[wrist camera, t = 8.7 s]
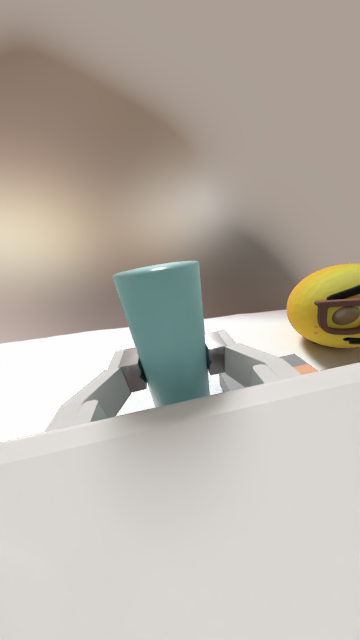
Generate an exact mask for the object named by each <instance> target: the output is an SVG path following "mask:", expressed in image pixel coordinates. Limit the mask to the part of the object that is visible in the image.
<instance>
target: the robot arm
mask: <svg viewBox="0 0 360 640" xmlns="http://www.w3.org/2000/svg"><path fill="white" fill-rule="evenodd" d="M205 344H206V356H207V368H208V370H209V373H210V375H214V374H219V373H224V372H225V373H226V374H227V375H228V376H230V377H231V378H233V379H234V380H236V381H237V382H238V383H240V384H241V385H243V386H244V387H246V388H242V389H237V390H232V391H228V392H223V393H219V394H214V395H210V396H205V397H201V398H196V399H192V400H187V401H183V402H178V403H174V404H170V405H165V406H161V407H156V408H152V409H147V410H143V411H138V412H134V413H129V414H125V415H120V416H116V415H117V413H118V412H119V410H120V409H121V407H122V406H123V404H124V403H125V402H126V400H127V399H128V397H129V396H130V394H131V392H135V391H139V390H143V389H146V387H147V380H146V377H145V374H144V371H143V368H142V365H141V362H140V359H139V355H138V352H137V349H136V348H131V349H125V350H120V351H116V352H115V354H114V356H113V359H112V361H111V363H110V365H109V368H108V370H105V371H104V372H102V373H101V374H100V375H99V376H98V377H96V378H95V379H94V380H93V381H91V382H90V383H89V384H88V385H87V386H85V387H84V388H83V389H82V390H80V391H79V392H78V393H77V394H76V395H74V396H73V397H72V398H71V399H69V400H68V401H67V402H66V403H65V404H63V405H62V406H61V407H60V409H59V411H58V412H57V414H56V415H55V417H54V418H53V420H52V422H51V423H50V425H49V426H48V428H47V429H46V431H45V432H44V433H40V434H35V435H31V436H26V437H22V438H17V439H13V440H8V441H4V442H0V640H360V362H358V363H353V364H349V365H344V366H340V367H336V368H331V369H327V370H322V371H318V372H313V373H309V374H304V375H301V374H300V373H299V372H298V371H297V370H296V369H294V368H293V367H292V366H291V365H290V364H288V363H287V362H286V361H285V360H284V359H282V358H279V357H276V356H273V355H270V354H268V353H265V352H262V351H259V350H256V349H253V348H251V347H248V346H245V345H242V344H236V343H235V342H234V340H233V339H232V338H231V337H230V336H229V335H228V334H227V333H226V331H224V330H222V331H218V332H214V333H209V334H205ZM115 416H116V417H115Z"/></svg>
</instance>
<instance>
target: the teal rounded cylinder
mask: <svg viewBox="0 0 360 640" xmlns="http://www.w3.org/2000/svg"><path fill="white" fill-rule="evenodd" d="M112 277H113V280H114V283H115V286H116V289H117V292H118V295H119V298H120V301H121V304H122V307H123V310H124V313H125V316H126V319H127V322H128V325H129V328H130V331H131V334H132V337H133V340H134V343H135V346H136V349H137V352H138V355H139V359H140V362H141V365H142V368H143V371H144V374H145V377H146V380H147V383H148V386H149V389H150V392H151V395H152V398H153V401H154V404H155V407H161V406H165V405H170V404H174V403H178V402H183V401H187V400H192V399H196V398H201V397H205V396H210V392H209V380H208V368H207V356H206V344H205V332H204V320H203V308H202V296H201V284H200V271H199V262H198V261H184V262H174V263H166V264H160V265H154V266H148V267H142V268H138V269H133V270H129V271H125V272H121V273H118V274H115V275H113V276H112Z"/></svg>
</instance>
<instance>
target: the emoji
mask: <svg viewBox="0 0 360 640" xmlns="http://www.w3.org/2000/svg"><path fill="white" fill-rule="evenodd" d="M287 316H288V319H289V321H290V323H291V325H292V326H293V327H294V329H295V330H296V331H297V332H298V333H299V334H301V335H302V336H303V337H305V338H307V339H308V340H310V341H312V342H315V343H318V344H320V345H324V346H329V347H336V348H354V347H360V264H342V265H336V266H332V267H328V268H324V269H322V270H319V271H317V272H315V273H313V274H311V275H309V276H308V277H306V278H305V279H304V280H302V281H301V282H300V283H299V284H298V285H297V286H296V287H295V288H294V289H293V291H292V292H291V294H290V297H289V298H288V302H287Z"/></svg>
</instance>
